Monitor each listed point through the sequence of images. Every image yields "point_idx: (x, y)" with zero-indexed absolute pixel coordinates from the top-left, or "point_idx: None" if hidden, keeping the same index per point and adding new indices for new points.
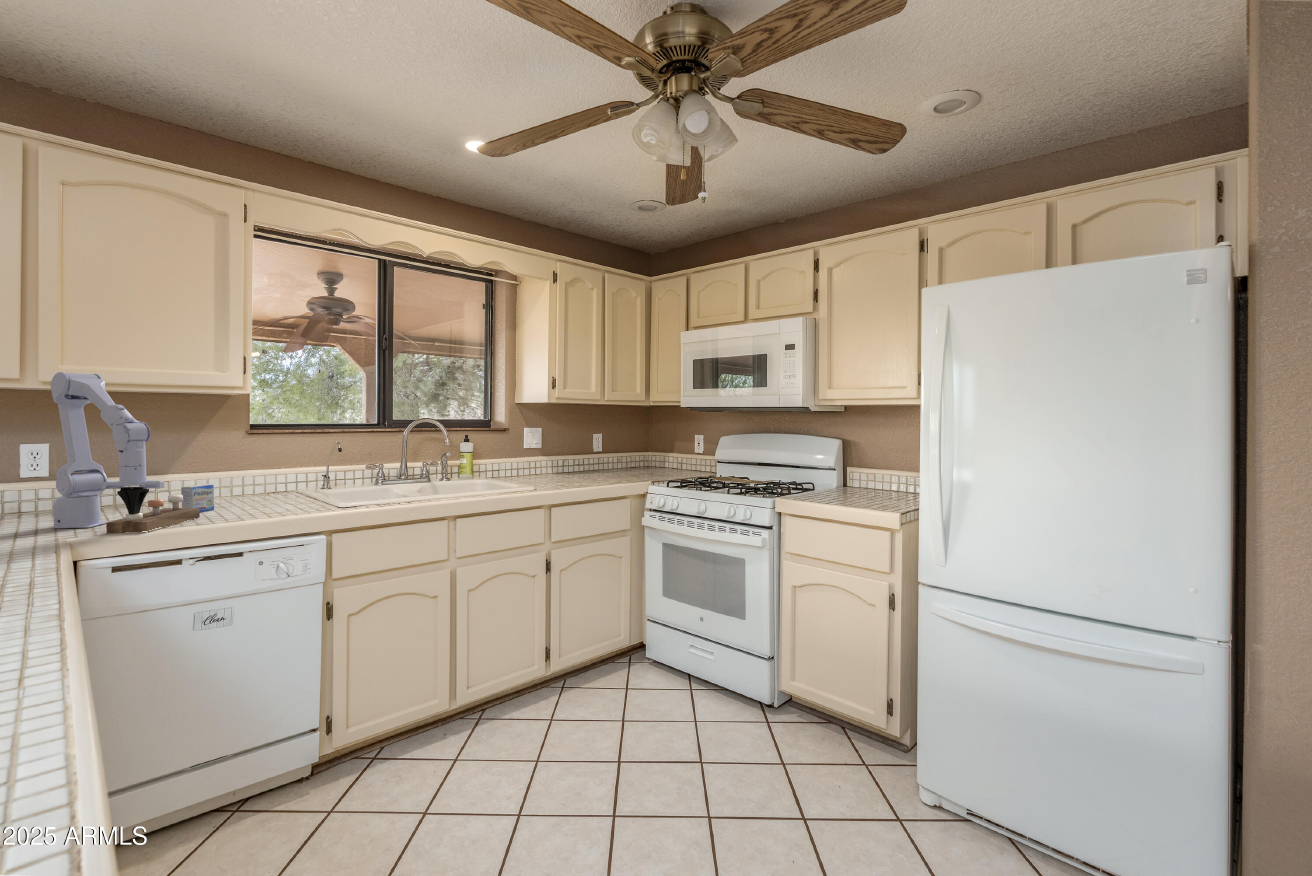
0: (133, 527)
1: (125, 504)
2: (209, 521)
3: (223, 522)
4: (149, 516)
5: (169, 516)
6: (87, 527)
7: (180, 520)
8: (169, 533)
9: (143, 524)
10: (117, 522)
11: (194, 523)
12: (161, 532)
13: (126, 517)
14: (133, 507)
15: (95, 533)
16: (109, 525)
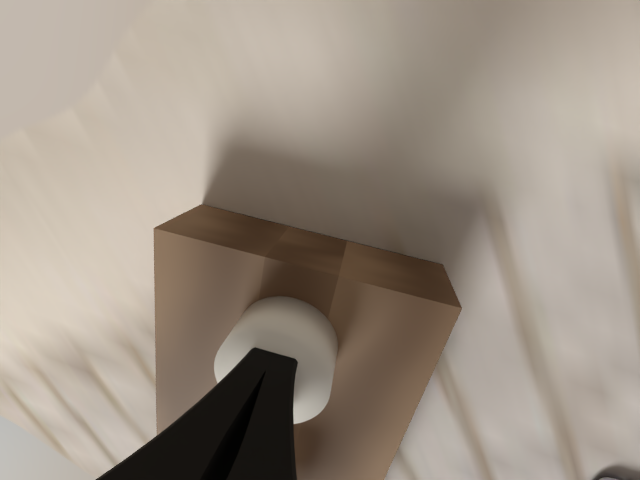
0: (267, 238)
1: (288, 454)
2: (89, 423)
3: (14, 378)
4: None
5: (158, 420)
6: (608, 478)
7: None
8: (58, 136)
9: (190, 228)
10: (371, 283)
11: (122, 401)
12: (126, 191)
13: (315, 332)
14: (215, 392)
15: (516, 295)
16: (432, 288)
